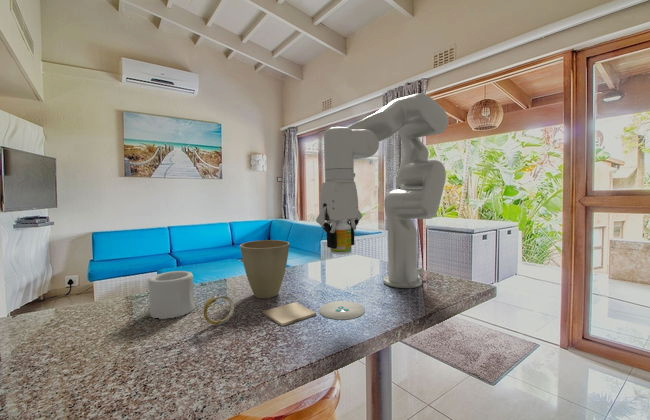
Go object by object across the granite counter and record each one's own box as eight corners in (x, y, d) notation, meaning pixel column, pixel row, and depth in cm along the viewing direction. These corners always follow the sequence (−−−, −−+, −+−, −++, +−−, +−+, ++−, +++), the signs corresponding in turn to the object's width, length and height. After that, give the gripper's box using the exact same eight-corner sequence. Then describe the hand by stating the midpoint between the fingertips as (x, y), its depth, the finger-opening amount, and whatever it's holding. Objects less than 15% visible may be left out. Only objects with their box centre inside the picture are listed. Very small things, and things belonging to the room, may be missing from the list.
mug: (201, 310, 83) (199, 274, 82) (158, 324, 75) (156, 284, 74) (181, 299, 92) (179, 267, 91) (141, 310, 84) (138, 274, 84)
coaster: (343, 298, 89) (343, 298, 89) (374, 310, 80) (374, 309, 80) (310, 309, 82) (310, 308, 82) (339, 323, 72) (339, 322, 72)
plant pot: (242, 305, 86) (240, 249, 85) (241, 289, 100) (239, 241, 99) (295, 299, 90) (293, 245, 89) (286, 285, 104) (285, 238, 103)
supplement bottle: (350, 255, 77) (349, 216, 76) (329, 254, 78) (328, 217, 77) (352, 250, 82) (351, 215, 82) (332, 250, 83) (331, 215, 83)
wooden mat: (295, 304, 86) (294, 302, 86) (316, 314, 78) (316, 312, 78) (262, 313, 80) (262, 311, 80) (282, 326, 72) (282, 323, 72)
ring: (204, 330, 71) (202, 296, 70) (203, 324, 74) (202, 292, 73) (235, 324, 74) (234, 291, 73) (233, 319, 77) (232, 288, 76)
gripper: (353, 177, 87) (354, 240, 88) (303, 177, 76) (306, 248, 78) (372, 176, 81) (373, 243, 82) (322, 175, 71) (324, 253, 72)
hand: (340, 245), depth 80 cm, fingers closed on supplement bottle, 5 cm apart
